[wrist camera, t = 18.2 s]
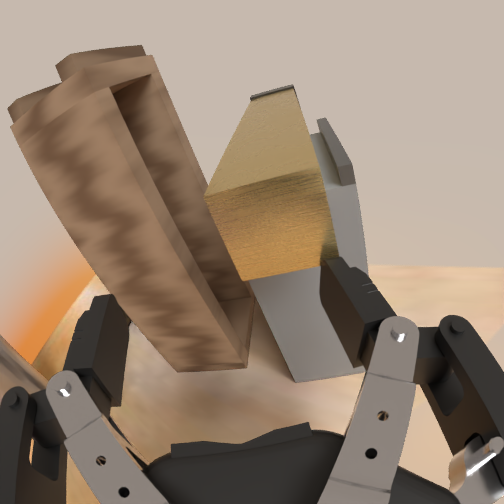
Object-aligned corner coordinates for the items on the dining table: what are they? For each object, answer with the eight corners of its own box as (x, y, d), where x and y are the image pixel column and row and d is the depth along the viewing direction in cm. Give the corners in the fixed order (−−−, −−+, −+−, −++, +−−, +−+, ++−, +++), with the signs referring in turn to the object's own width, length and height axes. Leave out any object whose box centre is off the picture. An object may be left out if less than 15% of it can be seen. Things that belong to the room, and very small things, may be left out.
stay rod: (239, 281, 13) (198, 192, 10) (264, 133, 30) (251, 95, 27) (342, 261, 12) (321, 160, 9) (304, 123, 29) (292, 84, 26)
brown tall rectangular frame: (177, 372, 35) (3, 112, 16) (196, 302, 44) (80, 82, 26) (246, 367, 33) (76, 49, 14) (255, 292, 42) (147, 42, 23)
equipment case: (289, 383, 29) (202, 200, 17) (290, 305, 38) (230, 142, 26) (373, 370, 27) (352, 163, 15) (358, 292, 36) (325, 117, 24)
